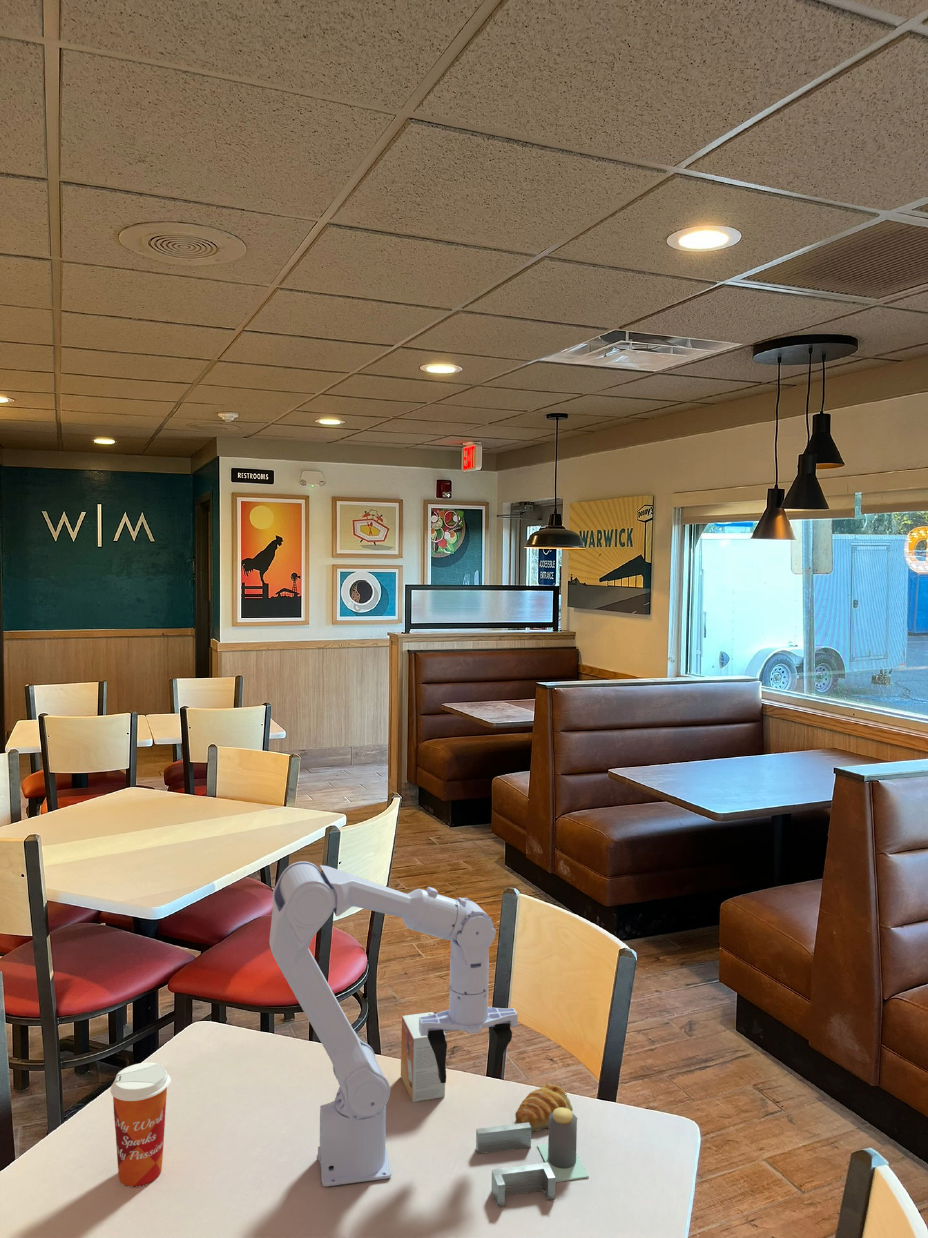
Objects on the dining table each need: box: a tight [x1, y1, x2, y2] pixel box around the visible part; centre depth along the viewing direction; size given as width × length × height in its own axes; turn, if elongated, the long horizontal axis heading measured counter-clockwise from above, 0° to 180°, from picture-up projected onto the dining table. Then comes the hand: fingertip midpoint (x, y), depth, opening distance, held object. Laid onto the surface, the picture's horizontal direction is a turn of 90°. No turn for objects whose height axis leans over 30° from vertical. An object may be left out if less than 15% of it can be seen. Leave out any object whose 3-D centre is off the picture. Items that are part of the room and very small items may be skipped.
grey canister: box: [547, 1107, 578, 1169], centre depth 127 cm, size 4×4×7 cm
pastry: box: [515, 1083, 573, 1132], centre depth 137 cm, size 9×7×4 cm
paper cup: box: [110, 1062, 172, 1188], centre depth 123 cm, size 8×8×14 cm
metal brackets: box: [475, 1122, 556, 1208], centre depth 124 cm, size 8×12×3 cm, turn 12°
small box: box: [400, 1011, 447, 1103], centre depth 145 cm, size 8×6×10 cm
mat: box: [537, 1143, 589, 1183], centre depth 127 cm, size 5×8×1 cm, turn 12°
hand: (467, 1076), depth 131 cm, fingers open, 7 cm apart
